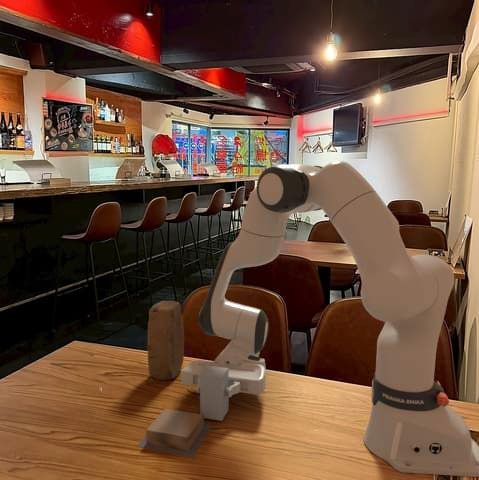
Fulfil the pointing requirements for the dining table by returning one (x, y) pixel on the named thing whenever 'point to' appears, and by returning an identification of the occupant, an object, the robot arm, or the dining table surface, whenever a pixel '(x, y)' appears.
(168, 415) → the base slab
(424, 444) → the robot arm
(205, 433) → the build pad
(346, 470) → the dining table surface
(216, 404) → the pillar
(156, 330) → the block
